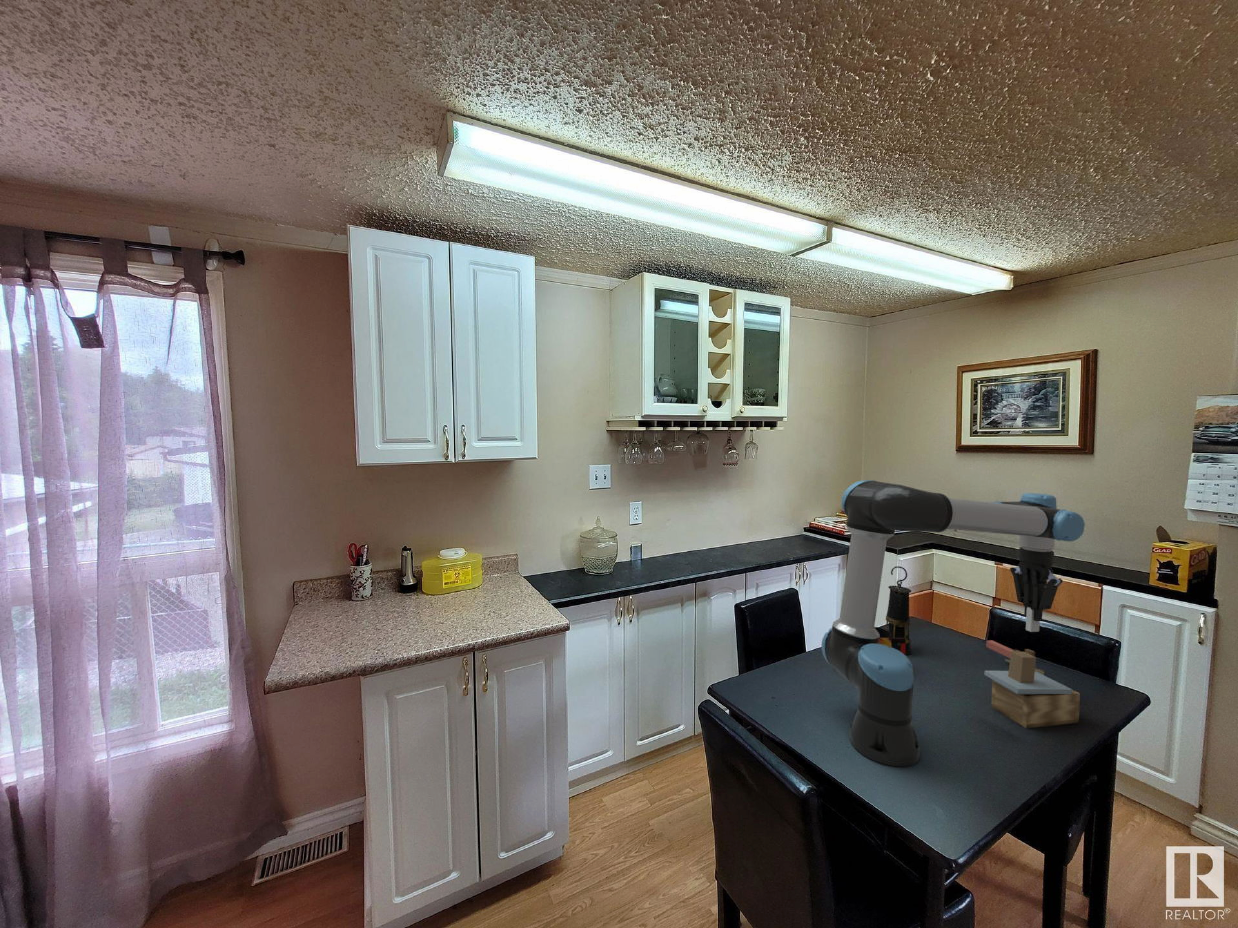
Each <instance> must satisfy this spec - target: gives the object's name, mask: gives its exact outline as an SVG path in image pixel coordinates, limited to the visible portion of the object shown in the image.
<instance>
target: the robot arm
mask: <svg viewBox="0 0 1238 928" xmlns="http://www.w3.org/2000/svg"><path fill="white" fill-rule="evenodd" d="M840 502H841V509H842V511H843V512H844V515H846V517H847V518H846V519H847V521H846V528H847V530H848V531H849V532H850V534H851V536H850V540H849V541H850V542H849V543H850V544H849V547H848V548H849V550H848V555H847V556H848V557H847V561H846V563H847V564H846V570H845V576H844V577H845V578H844V584H843V591H842V599H841V605H840V613H839V618H838V619H837V620H834V621H833V622H832V625H831V627H830V628H829V629H828V631H827V632H825V633H824V635H823V637H822V639H821V653H822V656H823V658H824V659H825V661H826V663H828V664H829V666H830V667H831V668H832V670H834V672H836V673H837V674H838V675H840V676H842V678H844V679H845V680H846V681H847V682H848V683H850V684H851V685H852V686H853V687H854V688H855V689H857V691H858V692H857V711H856V713H855V716H854V719H853V722H852V723H851V724H850V728H849V741H850V743H851V745H852V746H853V748H854V749H856V751H858V752H859V754H861V755H862V756H864V757H867V759H870V760H872V761H875V762H876V763H879V764H883V765H886V766H892V767H909V766H913V765H915V764H916V763H918V762H919V760H920V756H921V755H920V753H921V752H920V751H921V750H920V743H919V741H918V740H919V739H918V738H917V734H916V731H915V728H914V725H913V700H914V695H913V694H914V682H915V677H914V670H913V669H914V668H913V663H912V662H911V660H910V659H909V658H908V657H907V655H904V654H903V653H901V652H900V651H898V650H896V649H894V648H889V647H888V646H886V645H882V644H879V637H880V635H879V633H878V632H877V630H876V629H875V628H874V627H875V623H876V617H877V613H878V612H877V611H878V610H877V609H878V602H879V598H880V588H881V585H882V584H881V582H882V575H883V570H884V569H883V568H884V561H885V554H886V548H887V541H888V540H889V539H891V538H892V537H894V536H895V533H896V531H898V532H899V531H900V532H923V533H924V532H927V533H928V532H929V533H942V532H945V531H946V530H955V531H964V532H965V531H968V532H979V533H990V534H991V533H992V534H1003V535H1014V536H1018V537H1019V539H1018V545H1019V546H1020V547H1019V548H1018V561H1019V563H1018V565H1017V566H1015V567H1013V566H1012V567H1010V568H1009V571H1010V573H1011V574H1012V578H1013V583H1014V587H1015V594H1016V599H1017V602H1018V603H1020V604H1022V605H1023V606H1024V614H1023V615H1024V616H1023V617H1025V619H1026V620H1025V631H1028V632H1030V633H1034V632H1035V633H1037V632H1040V622H1042V620H1043V611H1045V610H1051V608H1052V606H1053V604H1054V600H1055V597H1056V593H1057V591H1058V588H1059V586H1060V585H1061V584H1062V583H1063V579H1062V578H1058V577H1056V576H1055V574H1054V570H1053V568H1052V566H1053V565H1054V562H1055V552H1054V551H1053V550H1054V549H1055V543H1056V541H1063V542H1074V541H1076V540H1079V539H1080V538H1081V537H1082V536H1083V534H1084V532H1085V526H1086V525H1085V520H1084V518H1083V516H1081V514H1080V513H1077V512H1075V511H1071V510H1070V511H1069V510H1067V509H1059V508H1057V507H1058V506H1057V498H1056V497H1055V495H1052V494H1046V493H1033V492H1032V493H1030V492H1029V493H1022V495H1021V498H1020V500H1019V501H998V500H997V501H989V502H988V501H980V500H979V501H978V500H971V499H970V500H969V499H960V498H950V497H948V495H945V493H940V492H932V491H927V490H922V489H919V488H915V487H911V486H906V485H902V484H896V483H889V482H882V481H877V480H875V479H873V480H868V479H867V480H859V481H856V482H854V483H853V484H850V486H848V488H847V489H846V490H845V491H844V492H843V494H842V497H841V501H840ZM1055 540H1056V541H1055Z"/></svg>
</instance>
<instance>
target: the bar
mask: <svg viewBox="0 0 1238 928" xmlns="http://www.w3.org/2000/svg"><path fill="white" fill-rule="evenodd" d="M985 647H986V648H987V649H989V650H992V651H994V652H996V653H998V654H1001V656H1004V657H1006V658H1009V659H1010V655H1011V652H1013V650H1014V649H1012V648H1010V647H1008V646H1006V645H1003V644H1001V643H999V642H997V641H995V640H991V639H990V640H986V645H985Z"/></svg>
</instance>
